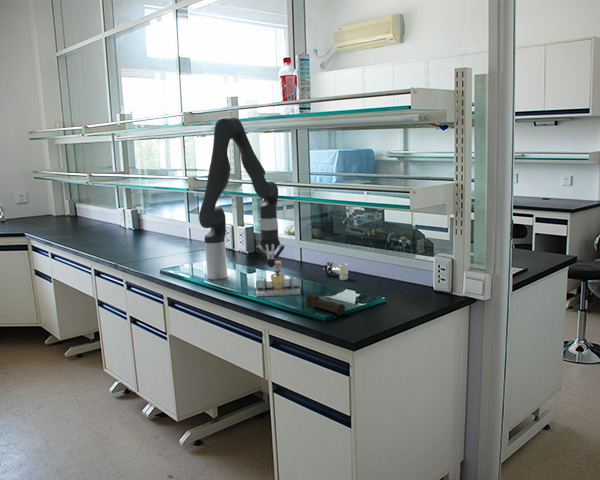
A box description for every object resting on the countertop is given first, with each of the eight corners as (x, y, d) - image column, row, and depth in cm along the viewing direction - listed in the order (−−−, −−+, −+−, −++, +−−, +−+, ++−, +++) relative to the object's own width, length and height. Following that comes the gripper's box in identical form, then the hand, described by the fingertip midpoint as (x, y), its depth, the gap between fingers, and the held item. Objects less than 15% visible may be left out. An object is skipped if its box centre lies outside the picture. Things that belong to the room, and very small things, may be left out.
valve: (352, 278, 245) (333, 274, 254) (351, 263, 244) (332, 260, 253) (341, 281, 241) (322, 277, 250) (341, 266, 240) (322, 262, 249)
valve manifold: (257, 288, 235) (256, 270, 234) (299, 286, 235) (298, 268, 234) (256, 296, 223) (255, 277, 222) (300, 294, 224) (299, 275, 222)
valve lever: (280, 273, 227) (280, 268, 226) (274, 273, 227) (274, 269, 226) (281, 264, 242) (280, 260, 241) (275, 264, 242) (275, 261, 241)
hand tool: (345, 313, 197) (345, 301, 196) (337, 316, 195) (337, 303, 194) (312, 303, 212) (311, 291, 211) (304, 305, 210) (303, 293, 209)
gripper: (284, 226, 241) (286, 264, 244) (254, 227, 241) (256, 265, 244) (284, 228, 233) (286, 268, 236) (253, 230, 233) (255, 269, 236)
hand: (271, 267), depth 240 cm, fingers closed
